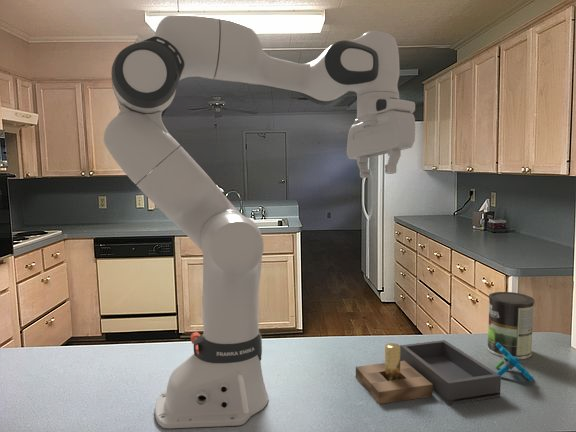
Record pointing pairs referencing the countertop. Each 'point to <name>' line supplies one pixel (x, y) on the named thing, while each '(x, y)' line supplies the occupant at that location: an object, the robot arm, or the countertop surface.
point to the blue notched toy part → (510, 363)
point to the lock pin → (392, 362)
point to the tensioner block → (393, 383)
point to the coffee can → (510, 323)
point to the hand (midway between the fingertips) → (377, 175)
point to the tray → (452, 372)
